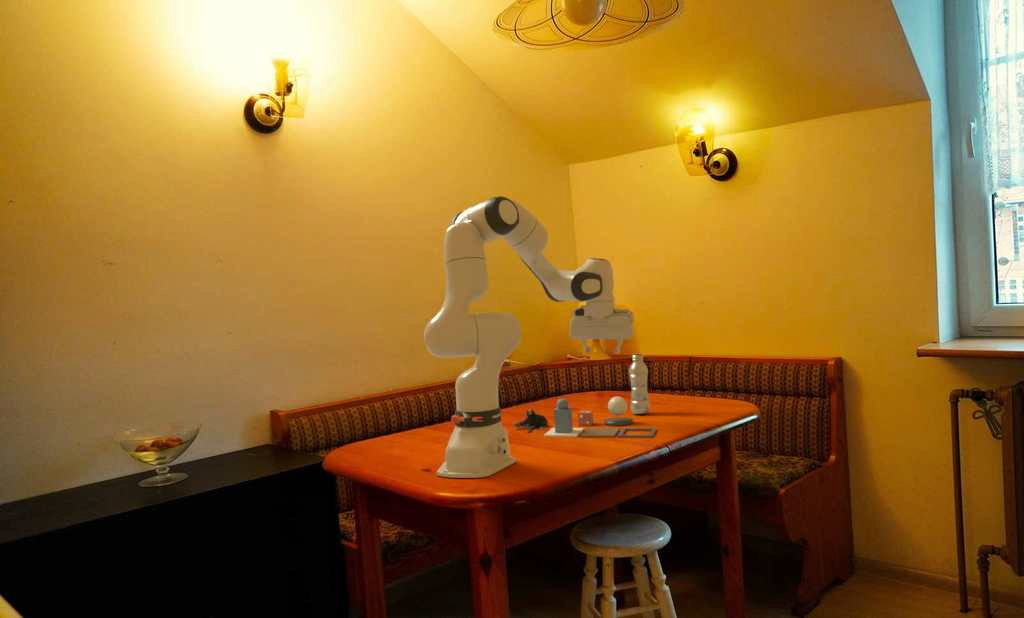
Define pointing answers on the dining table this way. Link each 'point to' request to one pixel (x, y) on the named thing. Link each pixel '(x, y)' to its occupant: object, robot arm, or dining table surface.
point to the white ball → (617, 406)
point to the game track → (601, 432)
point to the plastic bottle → (639, 385)
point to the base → (618, 421)
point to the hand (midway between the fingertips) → (602, 353)
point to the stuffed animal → (532, 421)
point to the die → (585, 418)
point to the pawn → (563, 417)
